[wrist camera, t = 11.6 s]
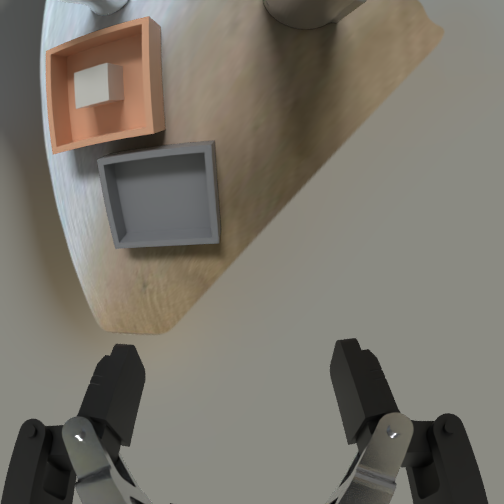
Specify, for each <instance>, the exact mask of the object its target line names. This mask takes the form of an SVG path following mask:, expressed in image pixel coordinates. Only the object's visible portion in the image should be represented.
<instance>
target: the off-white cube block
mask: <svg viewBox="0 0 504 504" xmlns="http://www.w3.org/2000/svg"><path fill="white" fill-rule="evenodd" d="M74 86H75V104H76V109H79V108H89V107H96V106H99V105H104V104H108V103H112V102H116V101H121V100H124V84H123V66H119V65H115V64H111V63H104V64H101V65H98V66H94V67H91V68H88V69H85V70H82V71H79V72H76V73H74Z"/></svg>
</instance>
